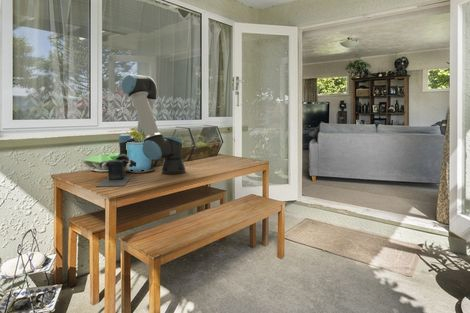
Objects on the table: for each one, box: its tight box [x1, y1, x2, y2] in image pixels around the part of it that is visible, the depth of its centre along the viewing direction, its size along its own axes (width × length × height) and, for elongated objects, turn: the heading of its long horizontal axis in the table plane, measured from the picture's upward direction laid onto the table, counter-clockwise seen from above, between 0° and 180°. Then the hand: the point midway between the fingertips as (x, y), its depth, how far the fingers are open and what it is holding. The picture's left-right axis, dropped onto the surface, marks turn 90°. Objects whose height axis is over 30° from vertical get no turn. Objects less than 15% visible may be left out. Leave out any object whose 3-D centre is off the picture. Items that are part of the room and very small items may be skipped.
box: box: [107, 159, 126, 180], centre depth 180 cm, size 8×6×11 cm
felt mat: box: [95, 176, 132, 188], centre depth 175 cm, size 14×20×1 cm
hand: (115, 167), depth 177 cm, fingers open, 13 cm apart
